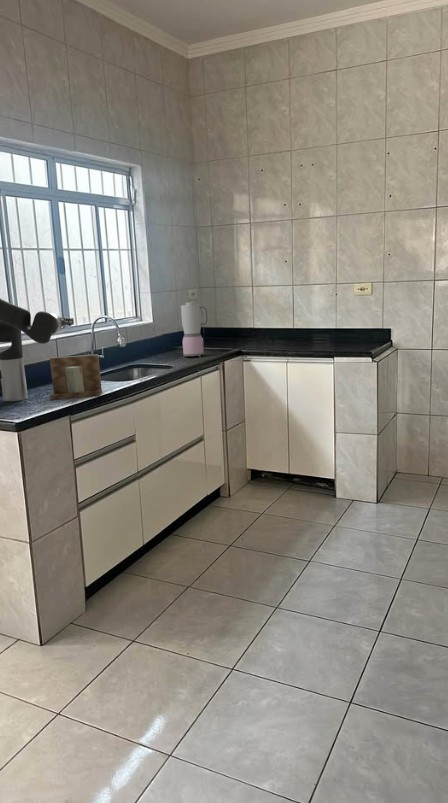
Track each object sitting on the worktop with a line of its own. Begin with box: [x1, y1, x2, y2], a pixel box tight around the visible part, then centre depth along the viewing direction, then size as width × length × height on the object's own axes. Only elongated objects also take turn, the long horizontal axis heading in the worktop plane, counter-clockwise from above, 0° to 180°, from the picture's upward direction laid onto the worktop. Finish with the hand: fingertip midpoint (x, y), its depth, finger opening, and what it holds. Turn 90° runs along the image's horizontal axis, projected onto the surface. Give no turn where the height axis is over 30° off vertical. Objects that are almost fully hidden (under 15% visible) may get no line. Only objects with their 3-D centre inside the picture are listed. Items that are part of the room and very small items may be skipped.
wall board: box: [49, 354, 103, 401], centre depth 256 cm, size 20×11×16 cm, turn 97°
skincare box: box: [65, 366, 85, 393], centre depth 257 cm, size 6×4×12 cm
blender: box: [179, 301, 208, 357], centre depth 363 cm, size 16×12×32 cm
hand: (56, 321), depth 238 cm, fingers open, 8 cm apart
